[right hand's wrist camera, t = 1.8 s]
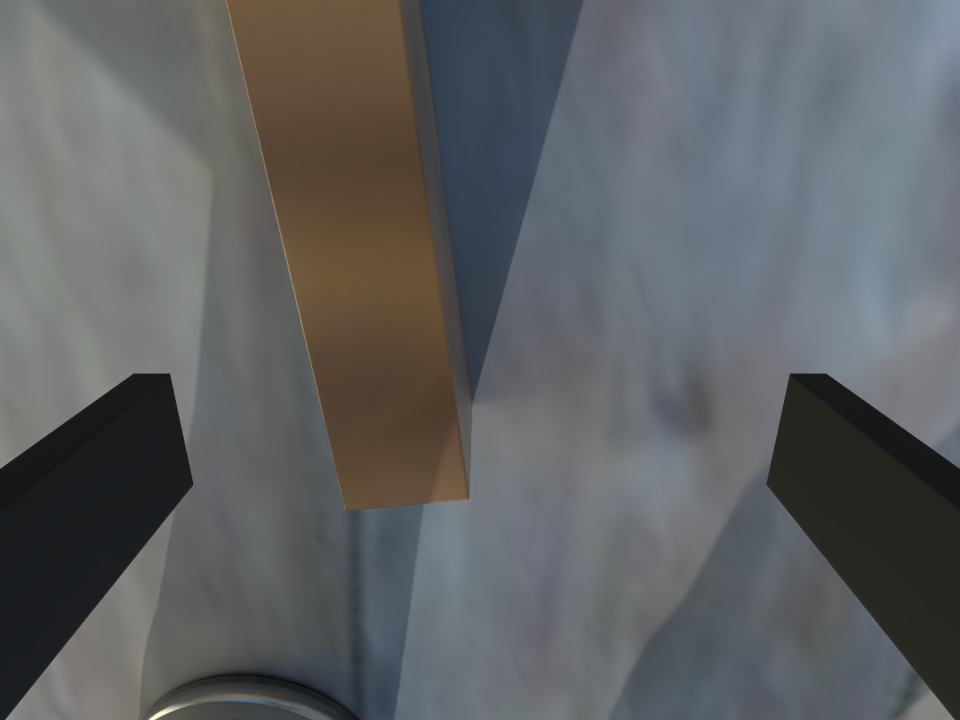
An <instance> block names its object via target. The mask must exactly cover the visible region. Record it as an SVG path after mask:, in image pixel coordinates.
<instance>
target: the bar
mask: <svg viewBox="0 0 960 720" xmlns="http://www.w3.org/2000/svg"><path fill="white" fill-rule="evenodd" d="M225 2H226V7H227V11H228V15H229V20H230V24H231V28H232V32H233V37H234V41H235V45H236V49H237V54H238V58H239V62H240V66H241V71H242V75H243V79H244V83H245V88H246V92H247V96H248V100H249V105H250V109H251V113H252V118H253V122H254V126H255V130H256V135H257V139H258V143H259V147H260V152H261V156H262V160H263V164H264V169H265V173H266V177H267V181H268V186H269V190H270V194H271V198H272V203H273V207H274V211H275V216H276V220H277V224H278V228H279V233H280V237H281V241H282V245H283V250H284V254H285V258H286V262H287V267H288V271H289V275H290V279H291V284H292V288H293V292H294V297H295V301H296V305H297V309H298V314H299V318H300V322H301V326H302V331H303V335H304V339H305V343H306V348H307V352H308V356H309V360H310V365H311V369H312V373H313V377H314V382H315V386H316V390H317V395H318V399H319V403H320V407H321V412H322V416H323V420H324V424H325V429H326V433H327V437H328V441H329V446H330V450H331V454H332V458H333V463H334V467H335V471H336V475H337V480H338V484H339V488H340V493H341V497H342V501H343V505H344V509H345V510H346V511H349V510H360V509H371V508H382V507H393V506H404V505H414V504H425V503H436V502H447V501H458V500H467V499H469V486H470V455H471V425H472V402H471V394H470V386H469V379H468V371H467V363H466V355H465V347H464V339H463V332H462V324H461V316H460V308H459V300H458V293H457V285H456V277H455V269H454V261H453V253H452V246H451V238H450V230H449V222H448V214H447V207H446V199H445V191H444V183H443V175H442V167H441V160H440V152H439V144H438V136H437V128H436V121H435V113H434V105H433V97H432V89H431V81H430V74H429V66H428V58H427V50H426V42H425V35H424V27H423V19H422V11H421V3H420V0H225Z"/></svg>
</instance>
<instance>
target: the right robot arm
mask: <svg viewBox="0 0 960 720" xmlns="http://www.w3.org/2000/svg"><path fill="white" fill-rule="evenodd" d="M192 486H193V480H192V475H191V471H190V466H189V461H188V456H187V452H186V447H185V442H184V438H183V433H182V428H181V423H180V419H179V414H178V409H177V405H176V400H175V395H174V390H173V386H172V381H171V376H170V374H132V375H131V376H130V377H128V378H127V379H125V380H124V381H123V382H121V383H120V384H118V385H117V386H116V387H114V388H113V389H111V390H110V391H109V392H107V393H106V394H104V395H103V396H102V397H100V398H99V399H97V400H96V401H95V402H93V403H92V404H90V405H89V406H88V407H86V408H85V409H83V410H82V411H81V412H79V413H78V414H76V415H75V416H74V417H72V418H71V419H69V420H68V421H67V422H65V423H64V424H62V425H61V426H60V427H58V428H57V429H55V430H54V431H53V432H51V433H50V434H48V435H47V436H46V437H44V438H43V439H41V440H40V441H39V442H37V443H36V444H34V445H33V446H32V447H30V448H29V449H27V450H26V451H25V452H23V453H22V454H20V455H19V456H18V457H16V458H15V459H13V460H12V461H11V462H9V463H8V464H6V465H5V466H4V467H2V468H1V469H0V720H5V719H6V718H7V717H8V715H9V714H10V713H11V712H12V710H13V709H14V708H15V707H16V705H17V704H18V703H19V702H20V700H21V699H22V698H23V697H24V695H25V694H26V693H27V692H28V690H29V689H30V688H31V687H32V685H33V684H34V683H35V682H36V681H37V679H38V678H39V677H40V676H41V674H42V673H43V672H44V671H45V669H46V668H47V667H48V666H49V664H50V663H51V662H52V661H53V659H54V658H55V657H56V656H57V654H58V653H59V652H60V651H61V649H62V648H63V647H64V646H65V644H66V643H67V642H68V641H69V639H70V638H71V637H72V636H73V634H74V633H75V632H76V631H77V629H78V628H79V627H80V626H81V624H82V623H83V622H84V621H85V619H86V618H87V617H88V616H89V614H90V613H91V612H92V611H93V609H94V608H95V607H96V606H97V604H98V603H99V602H100V601H101V599H102V598H103V597H104V596H105V594H106V593H107V592H108V591H109V589H110V588H111V587H112V586H113V584H114V583H115V582H116V581H117V579H118V578H119V577H120V576H121V574H122V573H123V572H124V571H125V569H126V568H127V567H128V566H129V564H130V563H131V562H132V561H133V559H134V558H135V557H136V556H137V554H138V553H139V552H140V551H141V549H142V548H143V547H144V546H145V544H146V543H147V542H148V541H149V539H150V538H151V537H152V536H153V534H154V533H155V532H156V531H157V529H158V528H159V527H160V526H161V524H162V523H163V522H164V521H165V519H166V518H167V517H168V516H169V514H170V513H171V512H172V511H173V509H174V508H175V507H176V506H177V504H178V503H179V502H180V501H181V499H182V498H183V497H184V496H185V494H186V493H187V492H188V491H189V489H190V488H191V487H192ZM767 486H768V487H769V488H770V489H771V491H772V492H773V493H774V494H775V496H776V497H777V498H778V499H779V501H780V502H781V503H782V504H783V506H784V507H785V508H786V509H787V511H788V512H789V513H790V514H791V516H792V517H793V518H794V519H795V521H796V522H797V523H798V524H799V526H800V527H801V528H802V529H803V531H804V532H805V533H806V534H807V536H808V537H809V538H810V539H811V541H812V542H813V543H814V544H815V546H816V547H817V548H818V549H819V551H820V552H821V553H822V554H823V556H824V557H825V558H826V559H827V561H828V562H829V563H830V564H831V566H832V567H833V568H834V569H835V571H836V572H837V573H838V574H839V576H840V577H841V578H842V579H843V581H844V582H845V583H846V584H847V586H848V587H849V588H850V589H851V591H852V592H853V593H854V594H855V596H856V597H857V598H858V599H859V601H860V602H861V603H862V604H863V606H864V607H865V608H866V609H867V611H868V612H869V613H870V614H871V616H872V617H873V618H874V619H875V621H876V622H877V623H878V624H879V626H880V627H881V628H882V629H883V631H884V632H885V633H886V634H887V636H888V637H889V638H890V639H891V641H892V642H893V643H894V644H895V646H896V647H897V648H898V649H899V651H900V652H901V653H902V654H903V656H904V657H905V658H906V659H907V661H908V662H909V663H910V664H911V666H912V667H913V668H914V669H915V671H916V672H917V673H918V674H919V676H920V677H921V678H922V679H923V681H924V682H925V683H926V684H927V686H928V687H929V688H930V689H931V690H932V692H933V693H934V694H935V695H936V697H937V698H938V699H939V700H940V702H941V703H942V704H943V705H944V707H945V708H946V709H947V710H948V712H949V713H950V714H951V715H952V717H953V718H954V719H955V720H960V469H959V468H958V467H956V466H955V465H954V464H952V463H951V462H949V461H948V460H947V459H945V458H944V457H942V456H941V455H940V454H938V453H937V452H935V451H934V450H933V449H931V448H930V447H928V446H927V445H926V444H924V443H923V442H921V441H920V440H919V439H917V438H916V437H914V436H913V435H912V434H910V433H909V432H907V431H906V430H905V429H903V428H902V427H900V426H899V425H898V424H896V423H895V422H893V421H892V420H891V419H889V418H888V417H886V416H885V415H884V414H882V413H881V412H879V411H878V410H877V409H875V408H874V407H872V406H871V405H870V404H868V403H867V402H865V401H864V400H863V399H861V398H860V397H858V396H857V395H856V394H854V393H853V392H851V391H850V390H849V389H847V388H846V387H844V386H843V385H842V384H840V383H839V382H837V381H836V380H835V379H833V378H832V377H830V376H829V375H828V374H790V376H789V381H788V386H787V390H786V395H785V400H784V405H783V409H782V414H781V419H780V423H779V428H778V433H777V438H776V442H775V447H774V452H773V456H772V461H771V466H770V471H769V475H768V480H767ZM142 720H356V719H354V718H353V717H352V716H351V715H350V714H349V713H348V712H347V711H346V710H344V709H343V708H342V707H340V706H339V705H337V704H336V703H335V702H333V701H331V700H330V699H328V698H326V697H324V696H323V695H321V694H318V693H316V692H314V691H312V690H310V689H307V688H304V687H302V686H299V685H296V684H293V683H289V682H286V681H281V680H277V679H272V678H265V677H257V676H222V677H215V678H209V679H204V680H200V681H196V682H193V683H190V684H187V685H185V686H182V687H180V688H178V689H176V690H174V691H172V692H170V693H168V694H167V695H165V696H164V697H162V698H161V699H160V700H159V701H157V702H156V703H155V704H154V705H153V706H152V707H151V708H150V709H149V710H148V712H147V713H146V715H145V716H144V718H143V719H142Z"/></svg>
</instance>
